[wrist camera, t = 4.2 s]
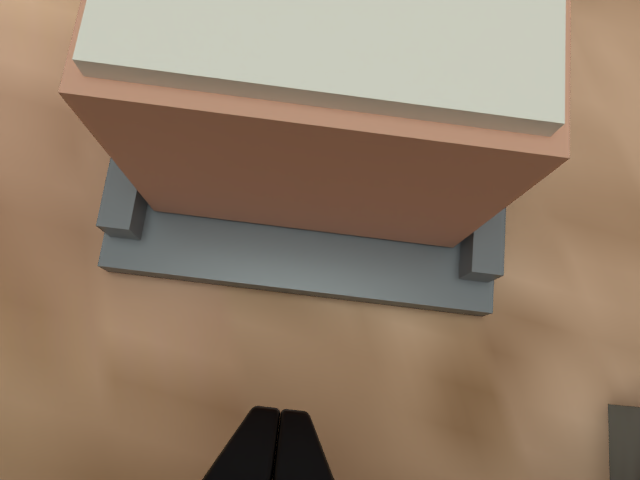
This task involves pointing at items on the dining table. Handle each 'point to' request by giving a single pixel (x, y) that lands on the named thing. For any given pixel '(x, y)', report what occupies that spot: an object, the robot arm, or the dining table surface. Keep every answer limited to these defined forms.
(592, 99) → the dining table surface
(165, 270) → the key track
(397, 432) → the dining table surface
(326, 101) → the terracotta key block
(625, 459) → the slate block
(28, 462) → the dining table surface
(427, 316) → the dining table surface
